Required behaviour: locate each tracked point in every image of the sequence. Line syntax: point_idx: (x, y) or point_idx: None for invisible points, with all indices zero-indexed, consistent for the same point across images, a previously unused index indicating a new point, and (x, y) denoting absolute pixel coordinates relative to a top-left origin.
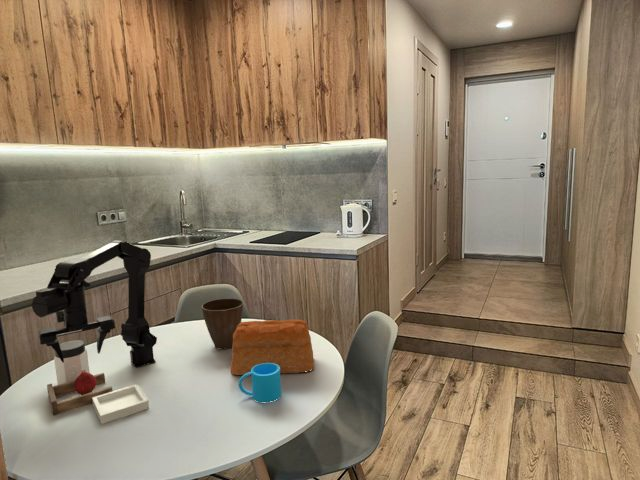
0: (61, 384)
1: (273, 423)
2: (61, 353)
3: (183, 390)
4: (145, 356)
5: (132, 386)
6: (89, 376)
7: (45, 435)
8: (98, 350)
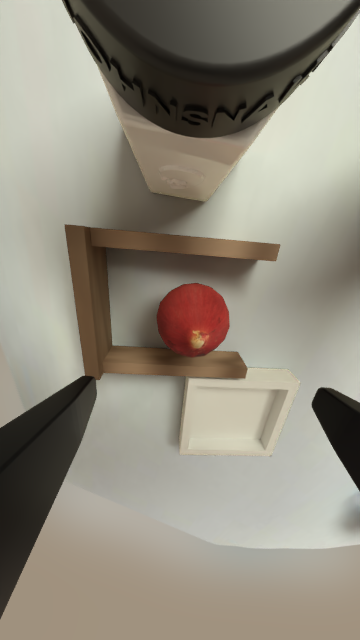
0: (124, 235)
1: (336, 534)
2: (40, 522)
3: None
4: None
5: (285, 388)
6: (209, 351)
7: None
8: (329, 438)
